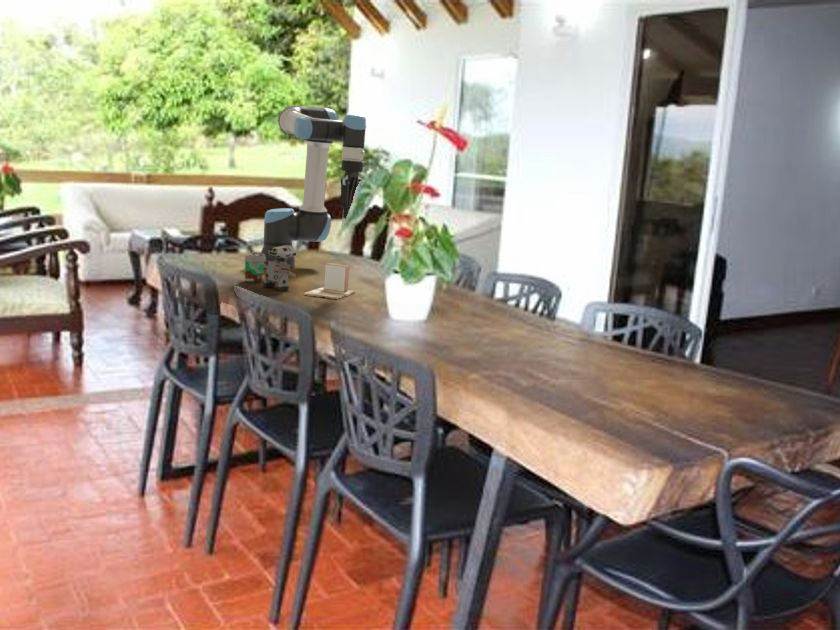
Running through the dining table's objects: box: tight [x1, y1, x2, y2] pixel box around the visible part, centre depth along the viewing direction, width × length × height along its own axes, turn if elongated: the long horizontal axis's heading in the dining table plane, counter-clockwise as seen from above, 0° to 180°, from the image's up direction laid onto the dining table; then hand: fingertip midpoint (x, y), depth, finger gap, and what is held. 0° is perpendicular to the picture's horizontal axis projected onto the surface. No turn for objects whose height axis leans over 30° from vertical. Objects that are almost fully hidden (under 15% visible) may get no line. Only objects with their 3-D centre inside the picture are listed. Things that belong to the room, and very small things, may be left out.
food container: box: [244, 251, 266, 284], centre depth 303 cm, size 12×6×10 cm, turn 179°
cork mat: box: [303, 286, 356, 300], centre depth 291 cm, size 16×12×1 cm
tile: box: [323, 262, 350, 292], centre depth 294 cm, size 3×8×9 cm, turn 72°
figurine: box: [263, 245, 298, 292], centre depth 293 cm, size 9×12×15 cm
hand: (348, 227), depth 298 cm, fingers open, 3 cm apart
